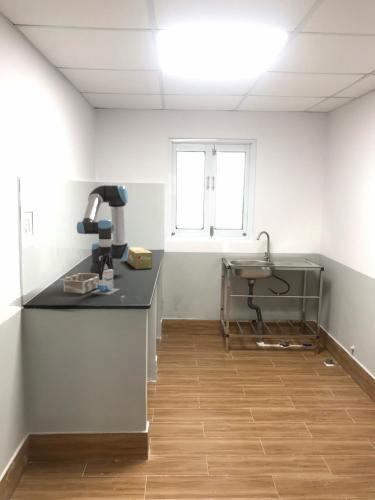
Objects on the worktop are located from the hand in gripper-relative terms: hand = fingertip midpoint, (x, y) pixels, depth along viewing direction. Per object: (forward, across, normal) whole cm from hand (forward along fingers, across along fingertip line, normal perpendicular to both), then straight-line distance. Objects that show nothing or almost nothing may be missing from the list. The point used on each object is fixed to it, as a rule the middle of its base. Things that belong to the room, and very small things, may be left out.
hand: (105, 283), depth 250 cm
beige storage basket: (+5, -1, -16) cm, 17 cm away
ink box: (+4, 0, 0) cm, 4 cm away
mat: (+5, 0, 0) cm, 5 cm away
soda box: (+6, -95, -19) cm, 97 cm away
